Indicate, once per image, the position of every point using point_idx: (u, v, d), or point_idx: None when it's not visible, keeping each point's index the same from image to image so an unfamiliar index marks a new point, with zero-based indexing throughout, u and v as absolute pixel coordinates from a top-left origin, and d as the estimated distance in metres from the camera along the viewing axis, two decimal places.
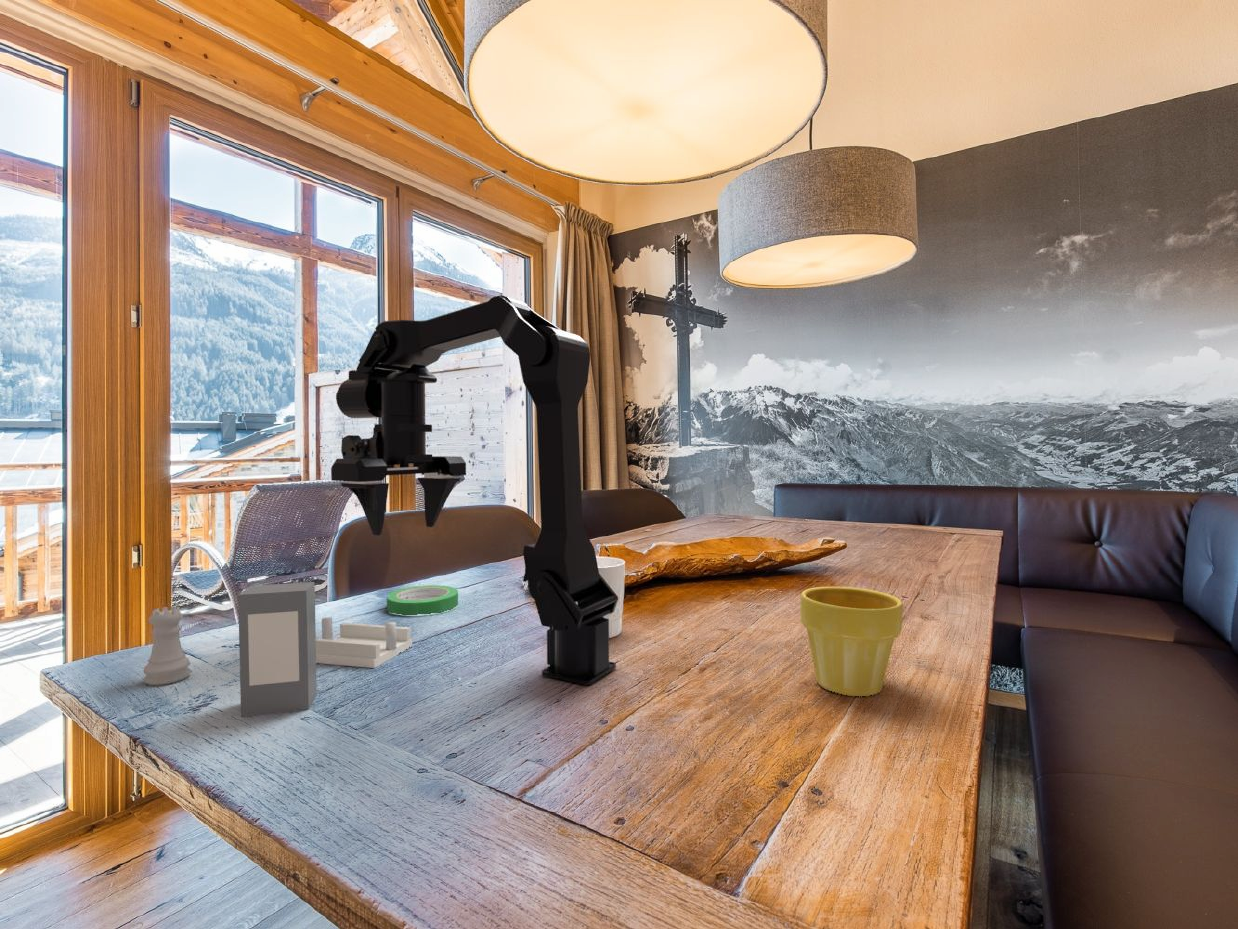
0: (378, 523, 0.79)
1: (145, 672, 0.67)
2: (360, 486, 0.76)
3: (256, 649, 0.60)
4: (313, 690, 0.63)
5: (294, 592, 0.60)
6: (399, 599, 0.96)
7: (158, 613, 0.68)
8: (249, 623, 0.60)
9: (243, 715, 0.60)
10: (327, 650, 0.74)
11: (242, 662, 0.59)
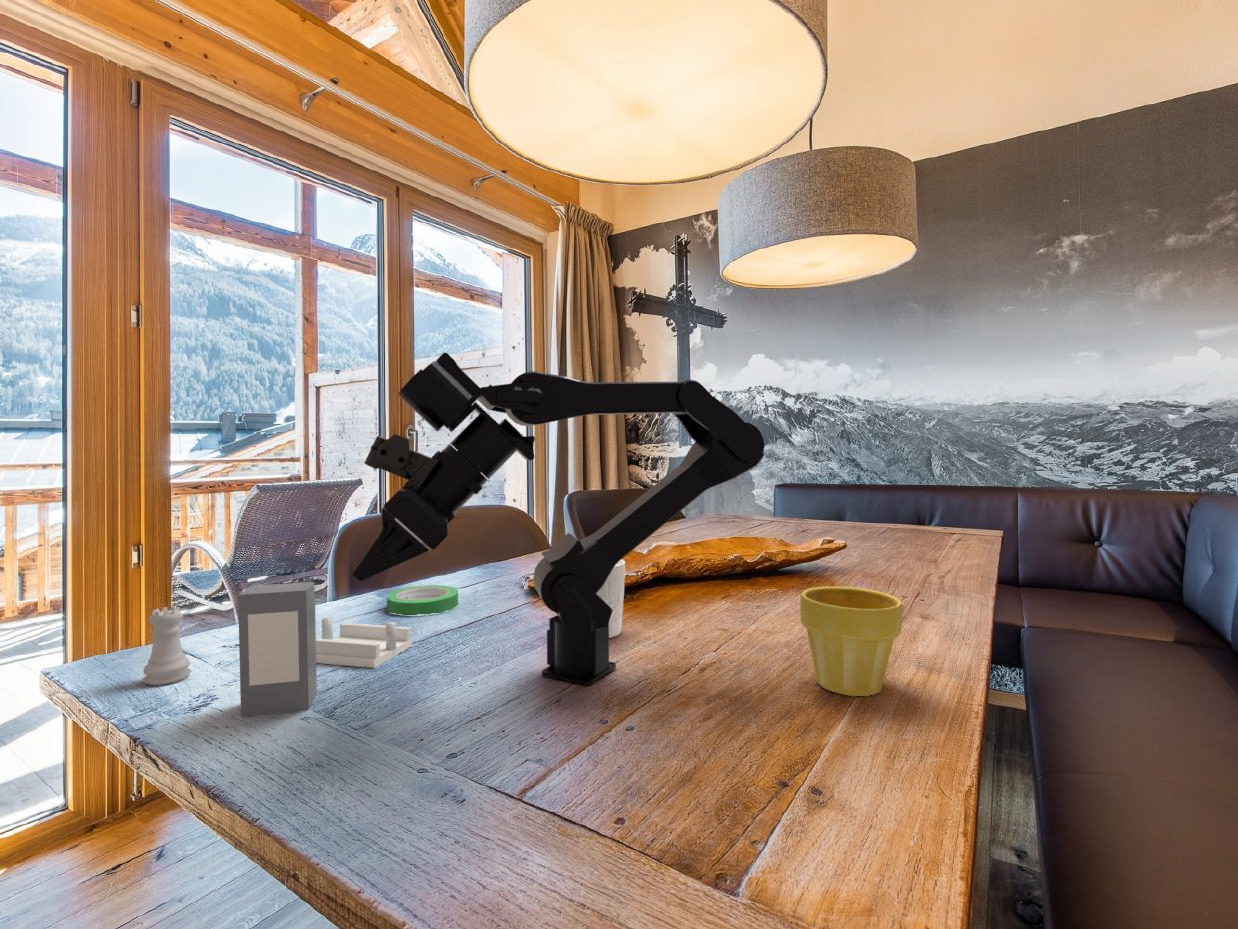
0: (376, 573, 0.60)
1: (145, 672, 0.67)
2: (414, 541, 0.58)
3: (256, 649, 0.60)
4: (313, 690, 0.63)
5: (294, 592, 0.61)
6: (399, 599, 0.96)
7: (158, 613, 0.68)
8: (249, 623, 0.60)
9: (243, 715, 0.60)
10: (327, 650, 0.74)
11: (242, 662, 0.59)
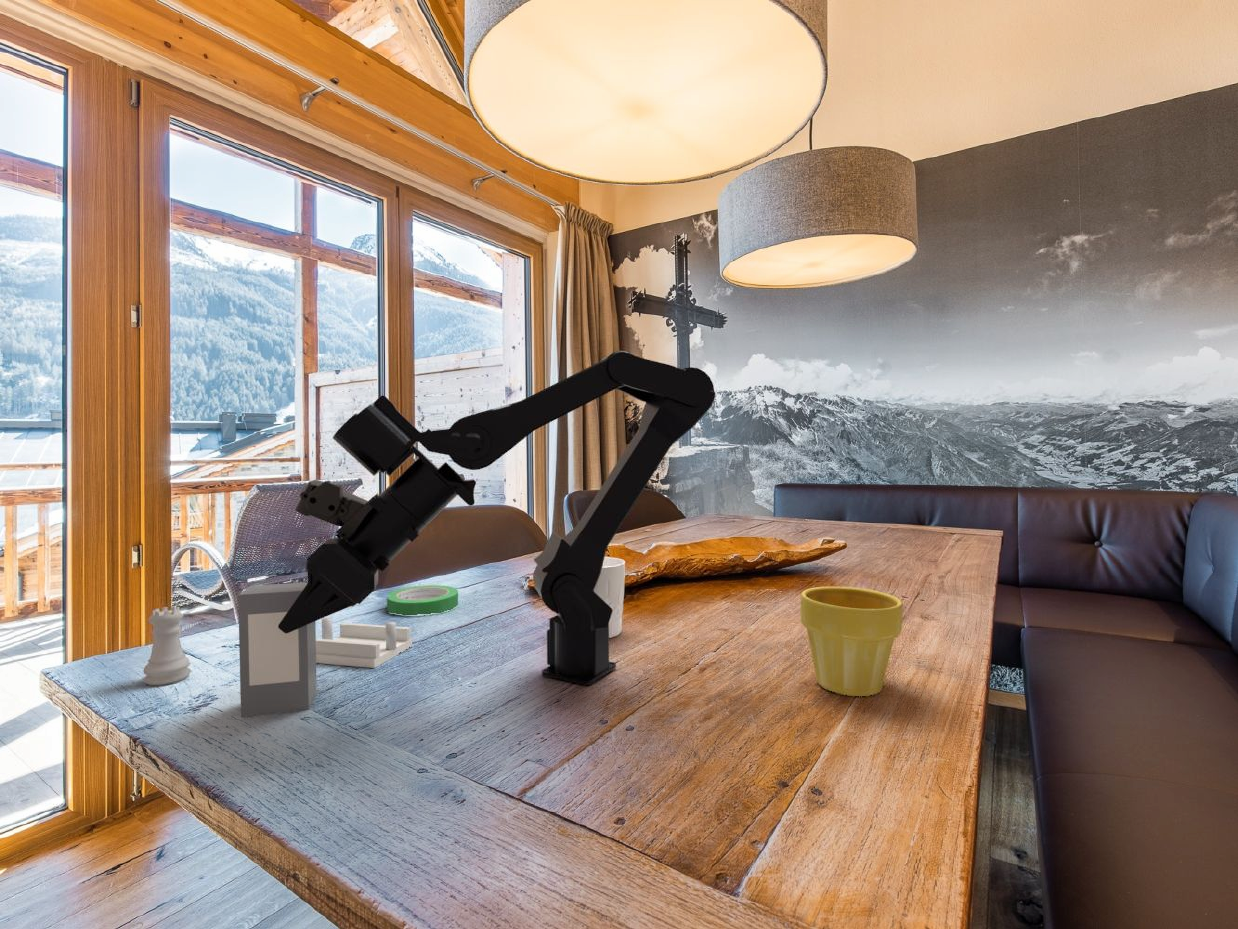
0: (302, 625, 0.58)
1: (145, 672, 0.67)
2: (339, 595, 0.56)
3: (256, 649, 0.60)
4: (313, 690, 0.63)
5: (294, 592, 0.60)
6: (399, 599, 0.96)
7: (158, 613, 0.68)
8: (249, 623, 0.60)
9: (243, 715, 0.60)
10: (327, 650, 0.74)
11: (242, 662, 0.59)
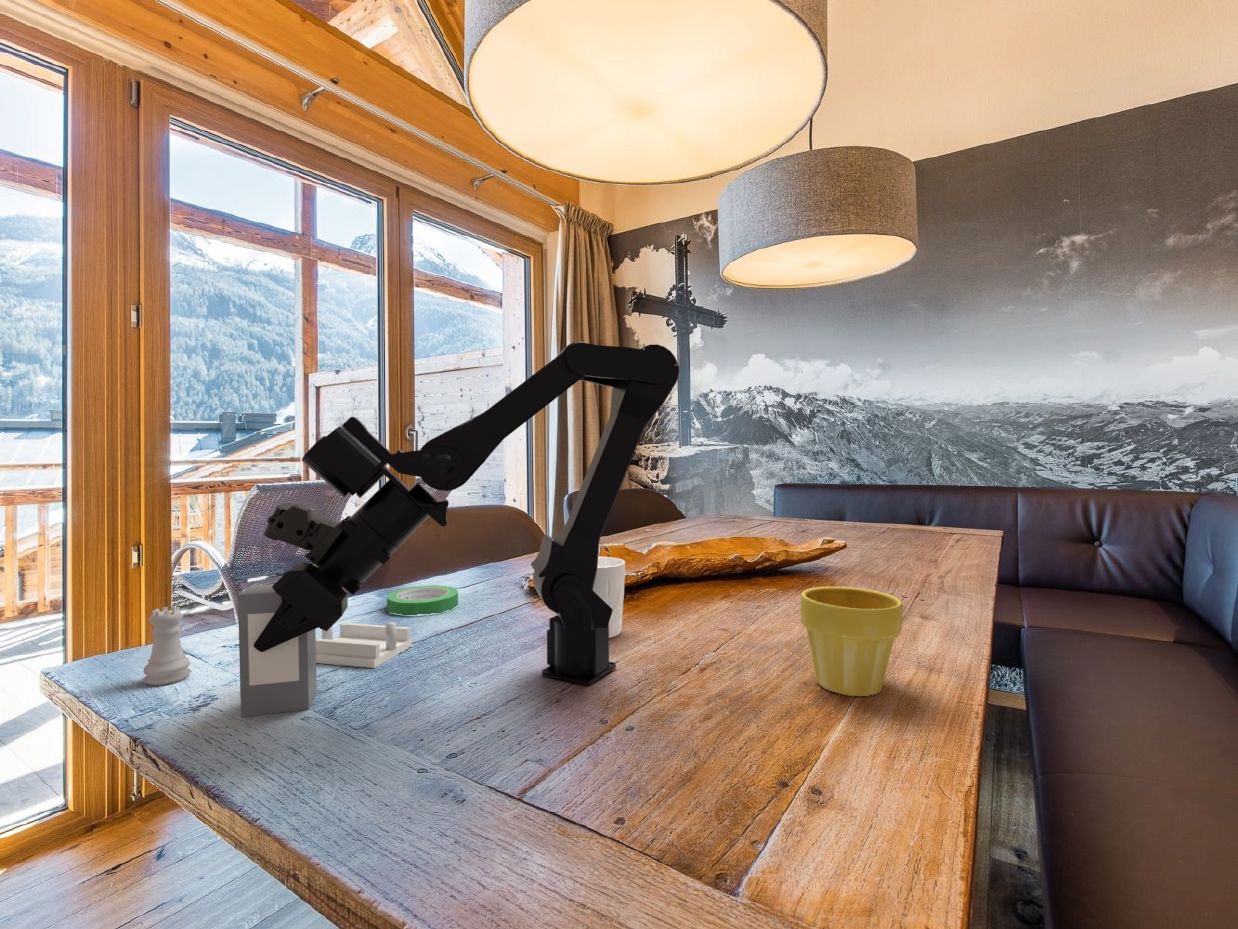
0: (277, 644, 0.59)
1: (145, 672, 0.67)
2: None
3: (256, 649, 0.60)
4: (313, 690, 0.63)
5: None
6: (399, 599, 0.96)
7: (158, 613, 0.68)
8: (249, 623, 0.60)
9: (243, 715, 0.60)
10: (327, 650, 0.74)
11: (242, 662, 0.59)
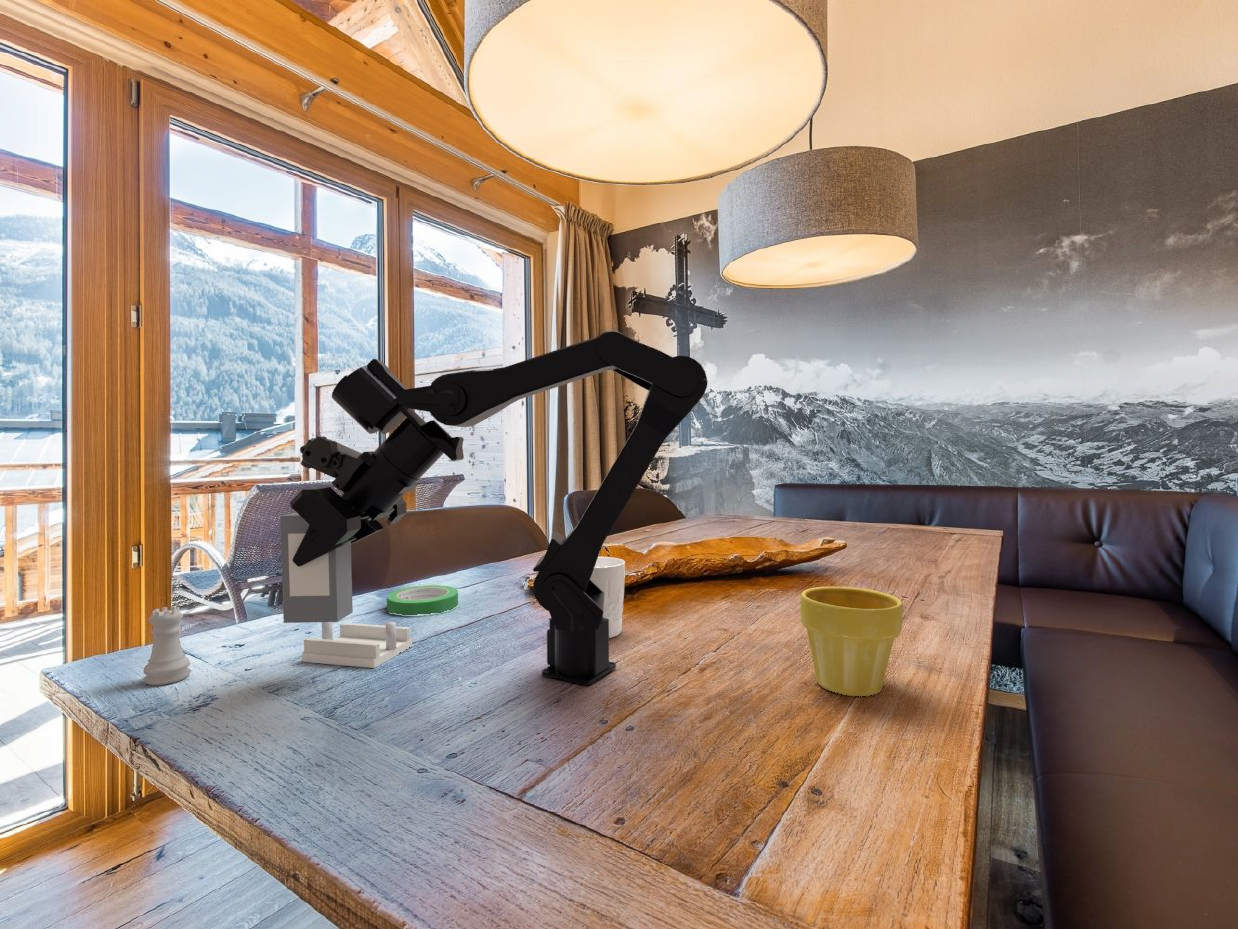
0: (310, 560, 0.67)
1: (145, 672, 0.67)
2: None
3: (294, 564, 0.68)
4: (346, 607, 0.71)
5: None
6: (399, 599, 0.96)
7: (158, 613, 0.68)
8: (289, 541, 0.68)
9: (285, 621, 0.68)
10: (327, 650, 0.74)
11: (284, 575, 0.68)
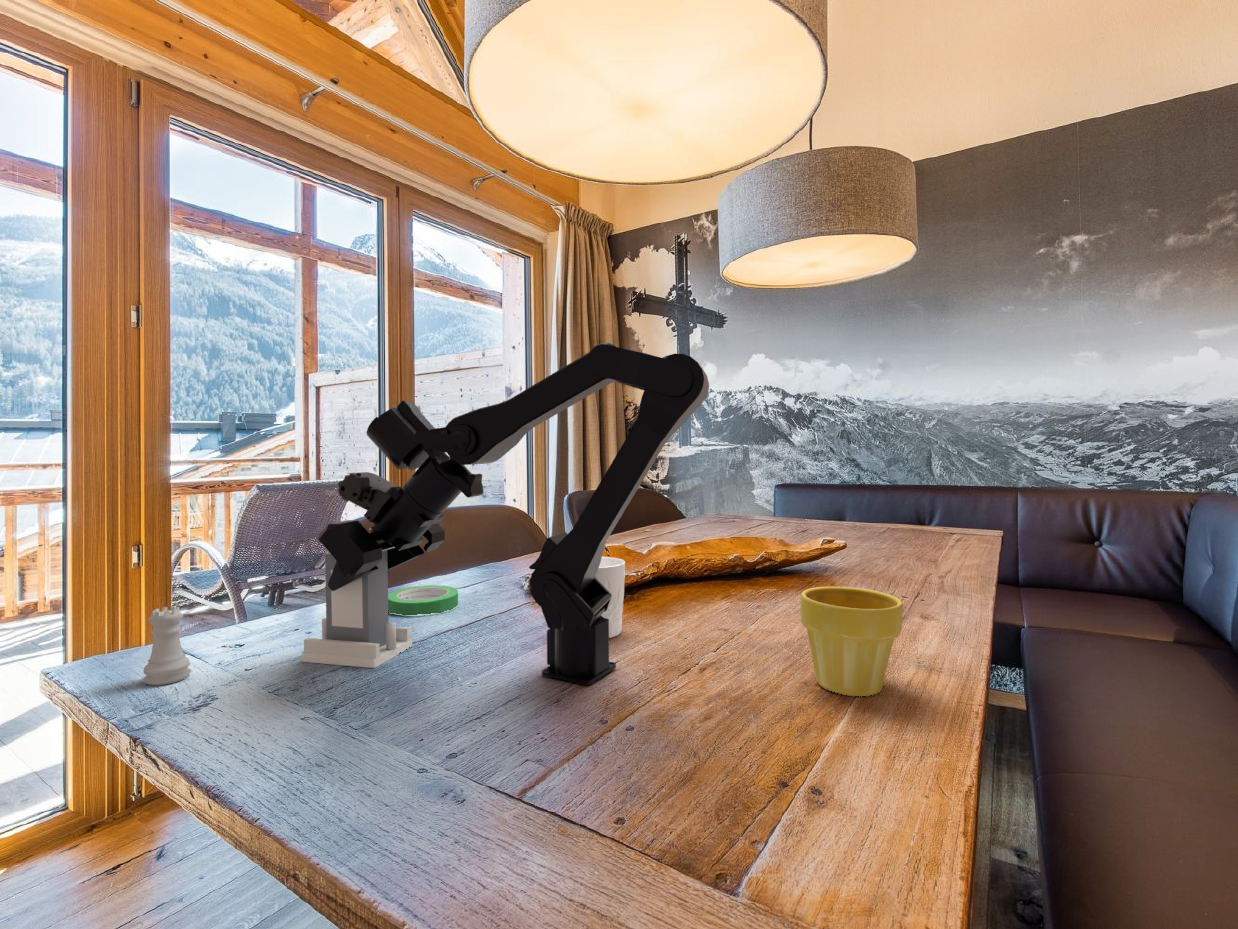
0: (341, 586, 0.73)
1: (145, 672, 0.67)
2: None
3: (335, 598, 0.75)
4: (380, 638, 0.77)
5: None
6: (399, 599, 0.96)
7: (158, 613, 0.68)
8: None
9: None
10: (327, 650, 0.74)
11: (327, 606, 0.76)
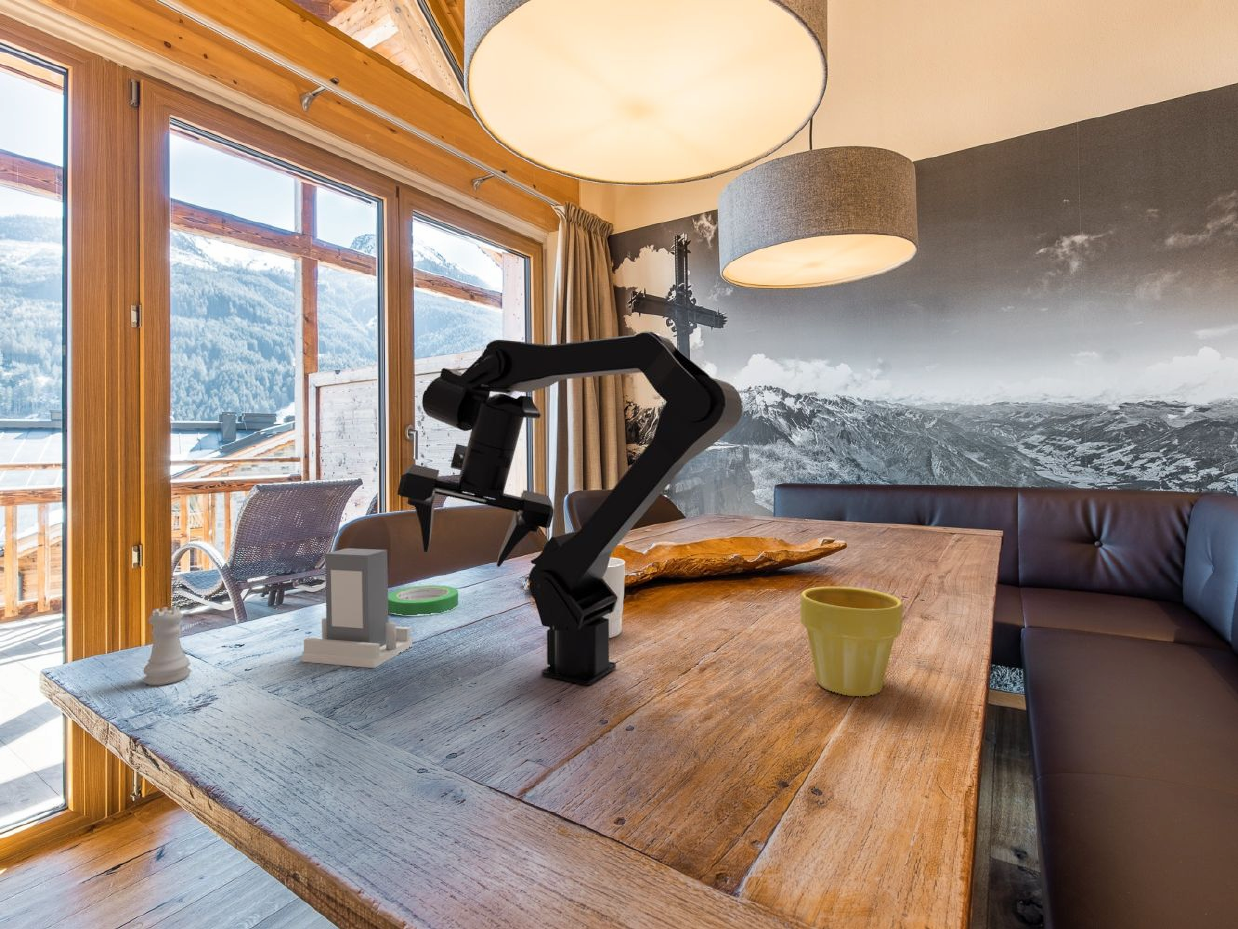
0: None
1: (145, 672, 0.67)
2: None
3: (335, 598, 0.76)
4: (380, 638, 0.77)
5: (359, 556, 0.75)
6: (399, 599, 0.96)
7: (158, 613, 0.68)
8: (332, 577, 0.76)
9: None
10: (327, 650, 0.74)
11: (327, 606, 0.76)
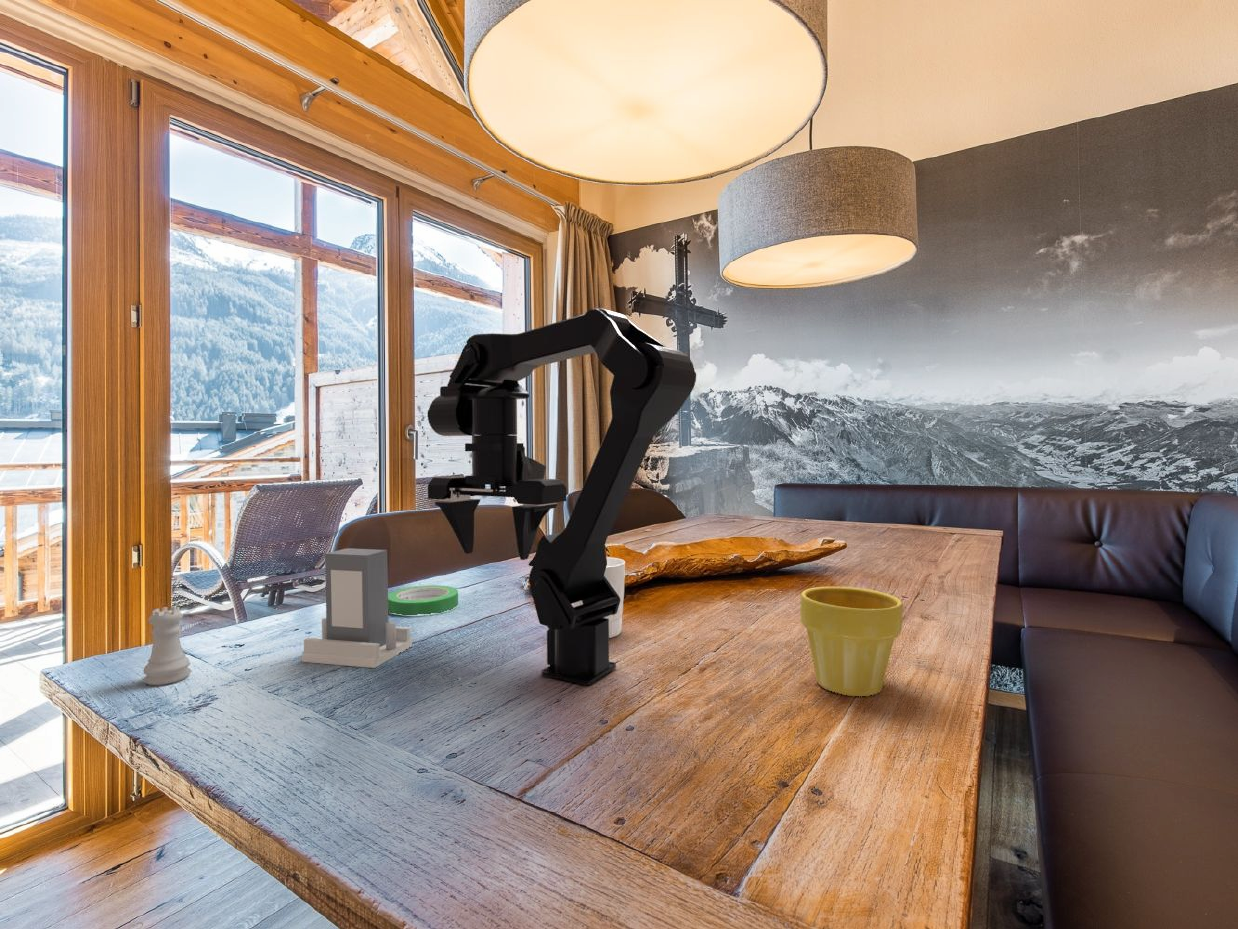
0: (459, 541, 0.81)
1: (145, 672, 0.67)
2: None
3: (335, 598, 0.76)
4: (380, 638, 0.77)
5: (359, 556, 0.75)
6: (399, 599, 0.96)
7: (158, 613, 0.68)
8: (332, 577, 0.76)
9: None
10: (327, 650, 0.74)
11: (327, 606, 0.76)
